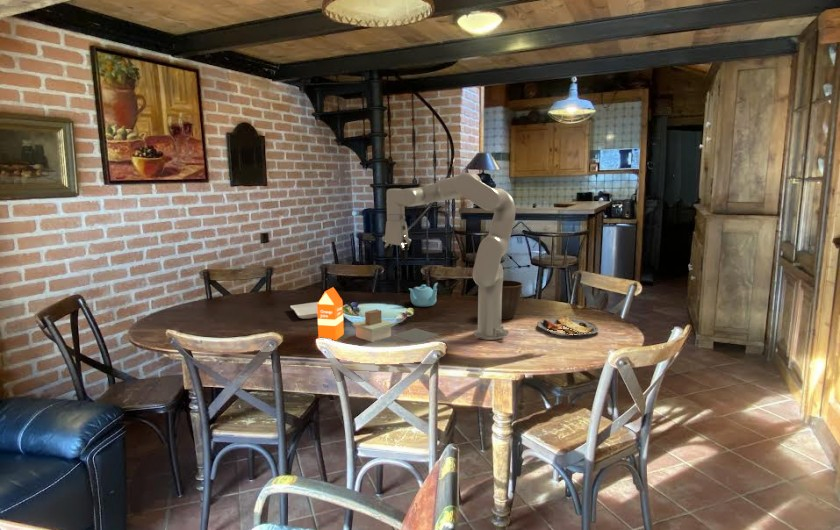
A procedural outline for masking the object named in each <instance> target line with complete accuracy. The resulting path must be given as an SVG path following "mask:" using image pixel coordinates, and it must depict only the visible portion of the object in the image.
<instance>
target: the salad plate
mask: <svg viewBox="0 0 840 530" xmlns="http://www.w3.org/2000/svg"><path fill="white" fill-rule="evenodd" d="M318 302H319V301H315V302H306V303H300V304H293V305H290V309H291V310H292V311H293V312H294V313H295V314H296V316H297V318H300V319H302V320H307V319H308V320H309V319H315V318H317V319H318V313H317V304H318Z"/></svg>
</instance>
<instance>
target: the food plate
mask: <svg viewBox="0 0 840 530" xmlns="http://www.w3.org/2000/svg"><path fill="white" fill-rule="evenodd" d="M536 325H537V327H539V328H541V329H542V330H544V331H545V332H546V333H549V332H550V331H549V330H553V331H557V330H563V331H565V332H566V333H568V334H573V335H574V334H577V335H578V336H586V335H592V334H596V333H598V331H600V328H599V326H598V325H596V324H595V323H593V322H589V321H586V320H583V319H578V318H569V317H568V316H567V315H564V316H562V317H550V318H544V319H541V320H539V321H537V324H536ZM563 326H565V327H567V328H569V329H563ZM561 328H562V329H561ZM547 329H549V330H548V331H547ZM570 329H572V330H570ZM573 330H575V331H577V332H580V333H583V334H579V333H577V332H575V331H573ZM589 332H591V333H589ZM566 333H565V334H564V333H561V334H559V333H556V332H555V333H554V332H550V334H553V335H558V336H563V337H564V336H565V337H567V336H566V335H568V334H566ZM584 333H586V334H584ZM573 335H572V336H571V337H574V336H573Z"/></svg>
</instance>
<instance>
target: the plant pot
mask: <svg viewBox="0 0 840 530" xmlns="http://www.w3.org/2000/svg"><path fill="white" fill-rule="evenodd" d="M522 291H523V283H522V282H520V281H517V280H507V279H505V280H504V279H503V284H502V313H501V320H510V319H511V318H512V319H513V318H515V315H516V313H517V309H518V306H519V305H520V304H519V303H520V300H521V295H522ZM512 319H511V320H512Z"/></svg>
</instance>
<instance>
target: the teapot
mask: <svg viewBox="0 0 840 530" xmlns="http://www.w3.org/2000/svg"><path fill="white" fill-rule="evenodd" d="M438 284H439V283H438V282H435V283H434V285H433V287H430V286H427V284H421V285H420V286H415V287H413V288H409V287H408V290H409V291H410V295H409V296H410V302H411V304H412V305H413V306H415V307H425V308H426V307H431V306H434V305H435V304H436V303H437V293H438V292H437V291H438V290H439V289H438V288H437V286H438Z"/></svg>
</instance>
